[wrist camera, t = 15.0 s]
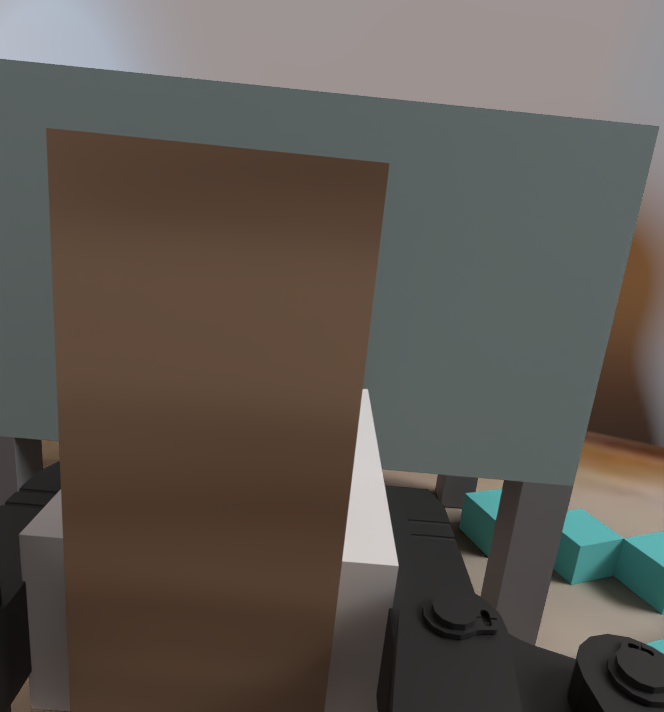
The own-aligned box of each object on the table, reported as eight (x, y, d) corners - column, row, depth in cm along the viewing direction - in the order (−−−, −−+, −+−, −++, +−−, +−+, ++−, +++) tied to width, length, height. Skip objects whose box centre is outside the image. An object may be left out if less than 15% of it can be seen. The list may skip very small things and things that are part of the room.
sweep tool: (466, 1111, 9) (722, 198, 5) (-110, 1076, 9) (-309, 90, 5) (373, 469, 30) (408, 195, 26) (202, 454, 29) (212, 175, 25)
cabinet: (465, 492, 28) (526, 154, 23) (534, 649, 18) (659, 126, 14) (102, 461, 27) (95, 110, 23) (-22, 605, 18) (-76, 51, 13)
